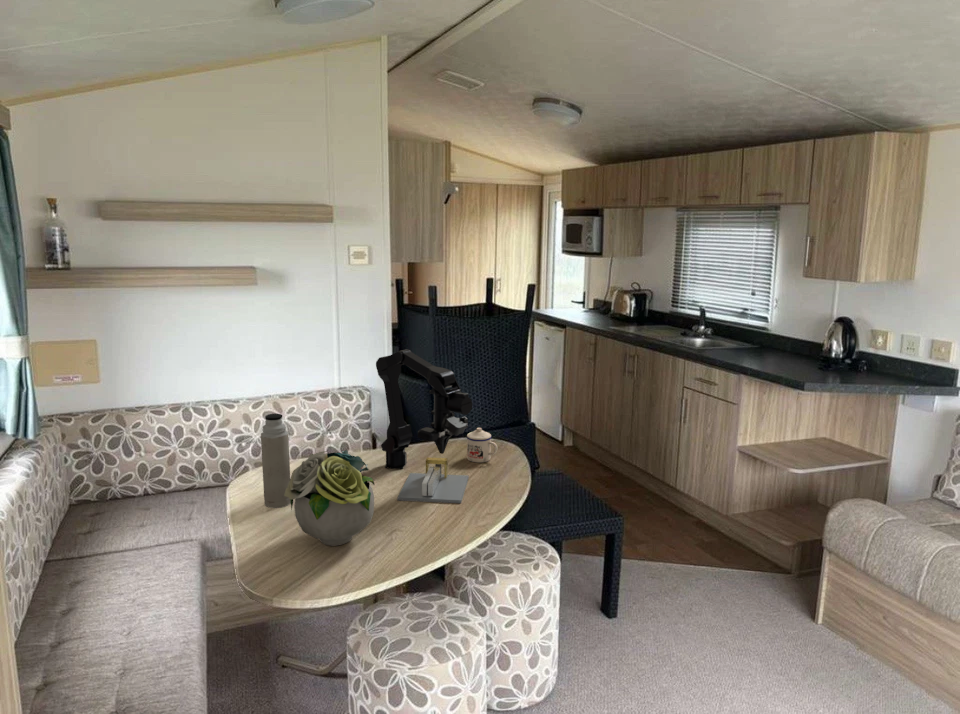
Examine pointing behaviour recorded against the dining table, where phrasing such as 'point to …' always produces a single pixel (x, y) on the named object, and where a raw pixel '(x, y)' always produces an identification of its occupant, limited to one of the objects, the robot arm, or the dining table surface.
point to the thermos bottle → (275, 461)
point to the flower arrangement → (331, 496)
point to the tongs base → (445, 490)
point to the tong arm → (434, 481)
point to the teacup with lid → (479, 446)
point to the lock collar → (438, 461)
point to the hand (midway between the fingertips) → (441, 453)
